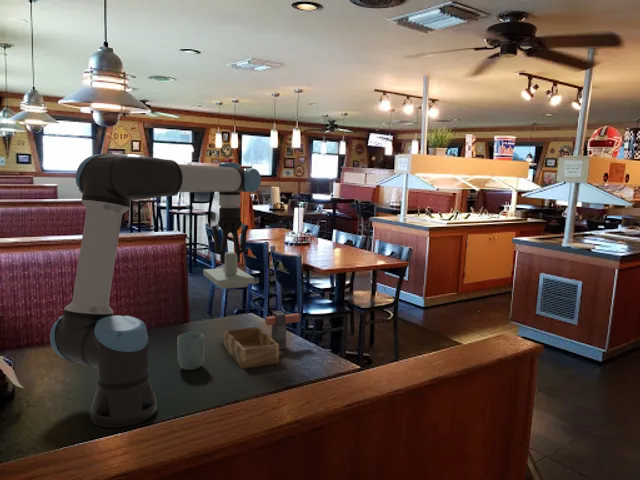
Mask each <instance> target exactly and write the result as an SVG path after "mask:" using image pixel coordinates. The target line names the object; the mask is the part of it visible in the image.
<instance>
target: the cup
mask: <svg viewBox="0 0 640 480" xmlns="http://www.w3.org/2000/svg"><path fill="white" fill-rule="evenodd" d="M176 343H177V344H176V345H177V346H176V347H177V361H178V364H179V366H180V368H182V369H183V370H186V371H194V370H197V369H199V368H201V366H202V365H203V364H204V359H205V335H204V334H203V333H200V332H185V333H182V334H179V335H178V336H177V341H176Z"/></svg>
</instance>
